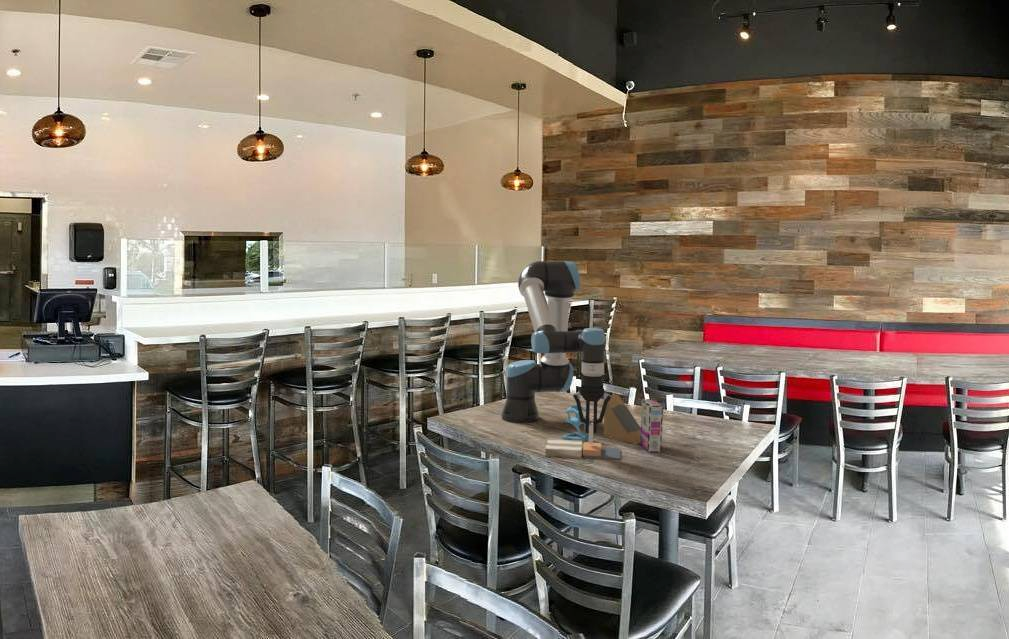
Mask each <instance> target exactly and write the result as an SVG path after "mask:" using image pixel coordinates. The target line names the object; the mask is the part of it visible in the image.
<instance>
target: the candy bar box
mask: <svg viewBox="0 0 1009 639" xmlns="http://www.w3.org/2000/svg"><path fill="white" fill-rule="evenodd" d="M663 415H664V405H662V404H661V403H660V402H658V401H657V400H656V399H653V398H650V399H649V398H648V399H644V398H643V399H641V413H640V427H641V432H640V444H639V445H641V446H642V447H643V449H644V450H645V449H646V450H645V451H646V452H647V453H657V452H658V453H662V440H663V438H662V436H663V419H664V418H663V417H664V416H663Z"/></svg>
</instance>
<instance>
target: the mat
mask: <svg viewBox="0 0 1009 639" xmlns="http://www.w3.org/2000/svg"><path fill="white" fill-rule="evenodd" d="M583 457H584V459H593V458H601V459H600V460H612V459H622V458H621V449H620V447H611V446H610V447H606V446H601V456H584V455H583Z"/></svg>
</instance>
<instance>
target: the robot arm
mask: <svg viewBox="0 0 1009 639" xmlns="http://www.w3.org/2000/svg"><path fill="white" fill-rule="evenodd" d="M517 282H518V284H517V286H518V290H519V293H520V295H521V296H522V297H523V298H524V301H525V304H526V307H527V308H526V309H527V311H528V314H529V317H530V320H531V321H530V322H531V325H532V328H533V331H534V332H532V334H531V337H530V338H531V339H530V340H531V341H530V342H531V343H530V344H531V349H532V352H533V353H535V354H543V356H542V357H540V362H539V363H536V361H535V360H533V359H532V360H531V359H524V360H523V359H522V360H516V361H512V362H510V363H509V364H507V367H506V375H505V376H506V392H505V393H506V398H505V402H504V406H503V408H502V412H501V419H502V420H504V421H507V422H510V423H531V422H535V421H538V420H539V419H540V412H539V410H538V409H539V408H538V405H537V402H536V393H560V392H567V391H568V390H569V389H570V387H571V386H572V383H573V379H574V367H573V365H572V364H571V363H570V360H569V358H568V357H567V354H569V353H570V354H571V353H572V354H573V353H574V354H576V353H579V354H580V353H581V375H580V380H581V381H580V387H579V391H577V392H574V393H573V395H572V396H573V399H574V401H575V402H576V406H577V408H578V412H579V417H580V421H581V422H583V423H585V424H586V428H585V429H584V433H585V432H586V433H588V435H589V440H588V442H589V444H593V443H594V435H595V434H597V432H598V431H597V430H598V429H597V428H598V424H602V423H603V422H604V414H605V410H606V407H607V403H608V401H609V400H610V399H611V394H609V393H607V392H606V390H605V388H604V383H605V382H604V381H605V380H604V378H605V377H604V373H605V347H606V346H605V342H606V336H605V334H606V332H605V331H604V329H603V328H598V327H589V328H584V329H576V330H574V331H573V330H570V331H569V330H568V329H569V328H568V327H569V318H570V316H569V314H570V300H572V299H573V298H574V296H575V292H577V291H579V290H580V286H581V278H580V271H579V268H578V266H577V264H576V263H575V262H573V261H567V260H566V261H565V260H553V261H552V260H549V261H546V260H545V261H544V260H543V261H542V260H537V261H533V262H530V263H529V264H528V265H526V267H524V268H523V270H522V271H521V272H520V274H519V276H518V281H517ZM581 396H582V399H584V401H585V408H586V412H585V416H586V418H585V417H584V411H583V410H582V407H583V406H582V403H581ZM602 397H603V401H602V402H603V404H602V405H601V406H602V407H601V410H600V414H599V417H598V402H599V401H600V400H601V399H602ZM591 402H592V403H593V418H592V419H593V422H589V420H590V408H591V407H590V404H591ZM581 406H582V407H581Z"/></svg>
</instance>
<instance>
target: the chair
mask: <svg viewBox="0 0 1009 639" xmlns="http://www.w3.org/2000/svg"><path fill="white" fill-rule="evenodd" d="M581 407H582V411H583V412H584V411H585V413H586V407H584V406H582V405H581ZM570 413H574V416H573V417H571V415H570ZM566 414H567V419H565V420H564V422H565V423H569V424H571V425H572V426H573V427H575V429H576V430H577V431H576V432H575V431H574V432H571V433H567V434H564V435H562V439H563V438H565V439H564V440H569V439H570V440H581V441H582V442H586V441H589V433H586V432H585V431H584V434H583V433H582V430H581V428H580V426H581V425H583V427H584V430H585V428H586V424H585V423H583V422H581V421H580V417H579V412H578V408H577V405H576V404H575V405H571V406H569V407H568V408H567V409H566ZM584 418H585V419H586V415H585V417H584ZM589 423H591V419H589ZM575 436H576V437H575Z"/></svg>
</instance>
